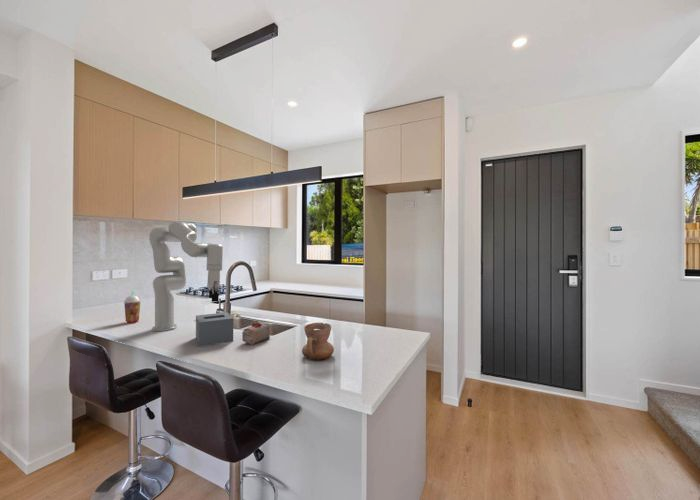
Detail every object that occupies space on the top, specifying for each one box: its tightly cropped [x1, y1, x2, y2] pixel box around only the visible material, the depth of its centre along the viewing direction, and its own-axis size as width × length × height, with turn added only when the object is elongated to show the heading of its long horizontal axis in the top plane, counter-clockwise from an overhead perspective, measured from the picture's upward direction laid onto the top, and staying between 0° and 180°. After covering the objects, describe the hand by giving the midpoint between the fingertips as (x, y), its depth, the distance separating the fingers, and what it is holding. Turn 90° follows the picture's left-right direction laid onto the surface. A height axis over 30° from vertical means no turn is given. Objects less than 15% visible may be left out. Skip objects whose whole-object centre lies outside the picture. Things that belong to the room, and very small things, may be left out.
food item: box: [241, 322, 271, 346], centre depth 157 cm, size 14×8×10 cm, turn 153°
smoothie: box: [123, 290, 141, 324], centre depth 190 cm, size 8×8×20 cm
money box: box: [195, 312, 234, 347], centre depth 159 cm, size 16×16×12 cm
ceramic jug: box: [301, 322, 335, 361], centre depth 136 cm, size 18×14×14 cm
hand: (213, 299), depth 159 cm, fingers open, 9 cm apart
